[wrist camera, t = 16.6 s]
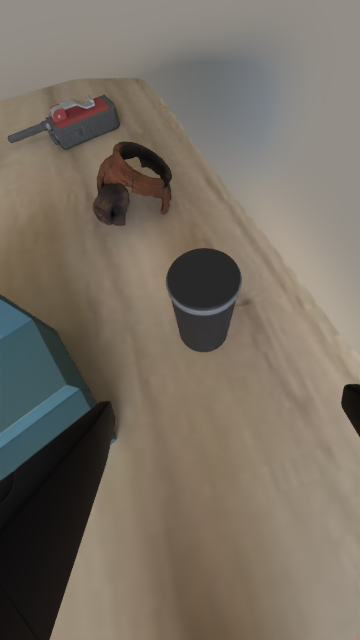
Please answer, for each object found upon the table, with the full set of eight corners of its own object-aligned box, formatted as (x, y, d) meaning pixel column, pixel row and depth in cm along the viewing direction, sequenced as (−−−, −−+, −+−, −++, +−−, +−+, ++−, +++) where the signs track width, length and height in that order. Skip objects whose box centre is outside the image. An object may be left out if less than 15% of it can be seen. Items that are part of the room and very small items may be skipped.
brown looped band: (112, 187, 35) (124, 126, 28) (165, 221, 36) (188, 171, 30) (66, 226, 27) (68, 155, 21) (136, 266, 29) (157, 212, 23)
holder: (214, 362, 21) (221, 323, 13) (169, 339, 23) (151, 290, 15) (236, 319, 23) (254, 261, 15) (193, 300, 24) (188, 238, 16)
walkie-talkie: (109, 107, 45) (12, 146, 42) (100, 76, 41) (-8, 116, 38) (128, 125, 41) (23, 168, 38) (120, 93, 37) (2, 139, 34)
